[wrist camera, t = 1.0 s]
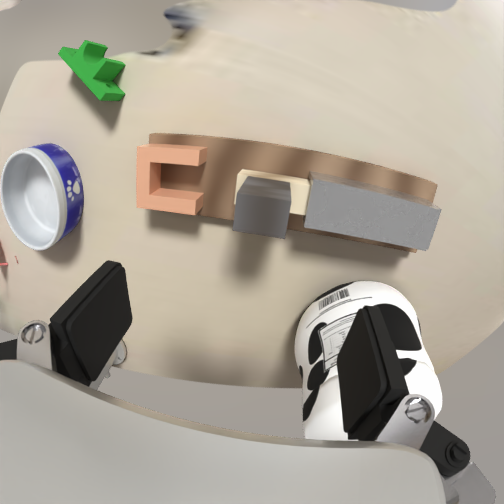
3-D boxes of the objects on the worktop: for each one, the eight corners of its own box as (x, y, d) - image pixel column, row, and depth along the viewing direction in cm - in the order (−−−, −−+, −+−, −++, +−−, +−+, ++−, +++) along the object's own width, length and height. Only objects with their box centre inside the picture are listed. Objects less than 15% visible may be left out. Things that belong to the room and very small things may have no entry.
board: (431, 181, 28) (437, 184, 27) (411, 247, 32) (416, 252, 31) (155, 133, 29) (149, 134, 28) (152, 204, 33) (147, 208, 32)
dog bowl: (99, 220, 36) (75, 237, 30) (45, 244, 39) (23, 260, 34) (66, 124, 29) (36, 129, 24) (15, 166, 33) (-9, 176, 27)
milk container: (368, 368, 42) (385, 459, 26) (276, 345, 42) (268, 450, 26) (427, 290, 35) (480, 384, 19) (326, 252, 34) (353, 365, 18)
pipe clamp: (140, 78, 26) (120, 74, 22) (120, 100, 28) (99, 101, 24) (94, 35, 23) (74, 30, 19) (78, 56, 25) (57, 53, 21)
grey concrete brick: (427, 199, 28) (443, 211, 24) (415, 236, 30) (430, 252, 26) (309, 170, 28) (313, 178, 24) (301, 213, 30) (303, 227, 27)
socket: (207, 147, 28) (199, 150, 25) (202, 206, 31) (195, 215, 29) (149, 143, 28) (137, 146, 26) (148, 199, 32) (136, 207, 29)
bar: (415, 204, 28) (456, 237, 19) (408, 228, 29) (444, 267, 21) (242, 169, 29) (223, 190, 20) (238, 196, 30) (219, 228, 22)
